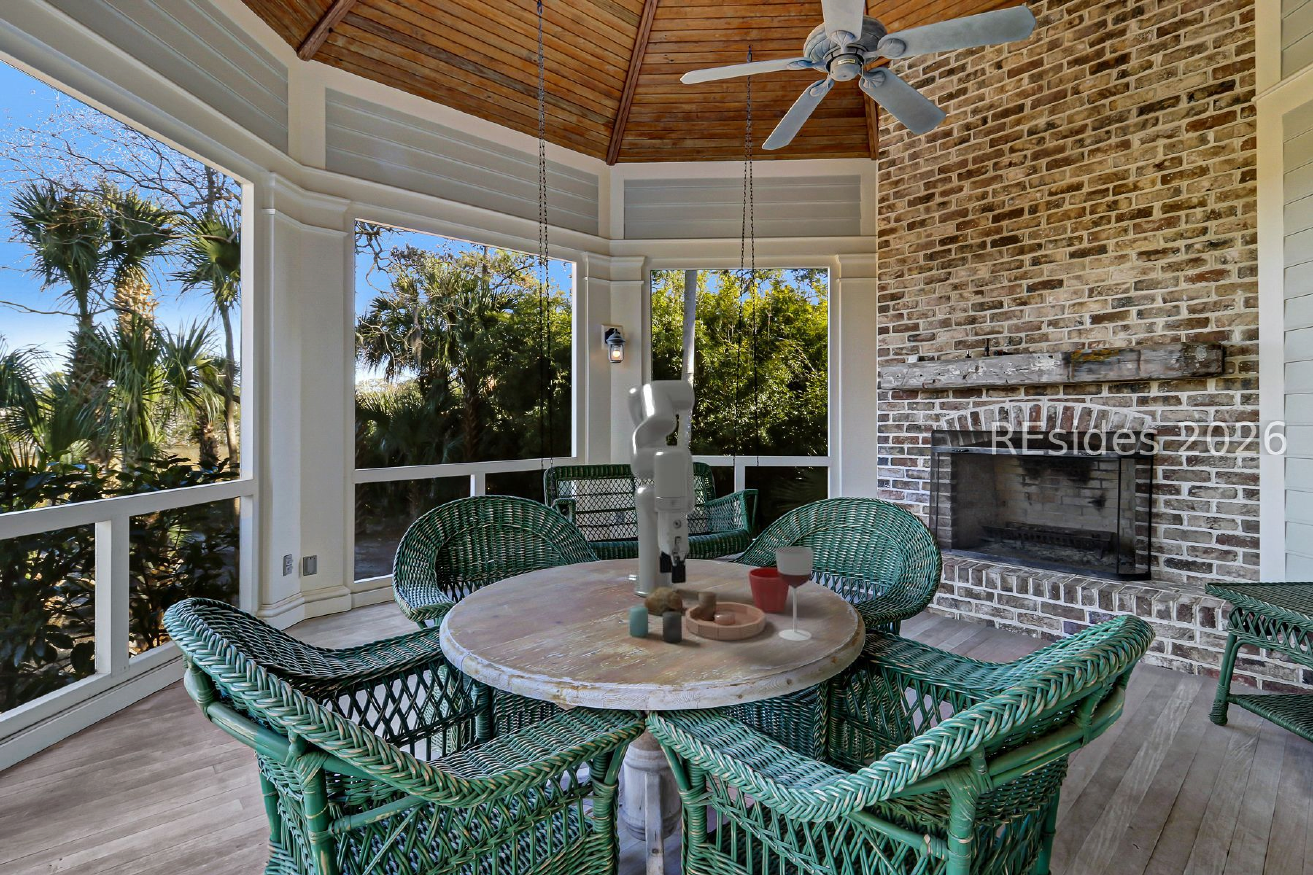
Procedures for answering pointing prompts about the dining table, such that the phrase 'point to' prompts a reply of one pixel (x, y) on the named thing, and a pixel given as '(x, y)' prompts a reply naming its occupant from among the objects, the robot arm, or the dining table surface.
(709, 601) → the bead
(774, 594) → the flower pot
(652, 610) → the bread roll
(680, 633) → the bead
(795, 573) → the wineglass
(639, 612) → the teal capsule
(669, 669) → the dining table surface
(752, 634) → the groove dish
